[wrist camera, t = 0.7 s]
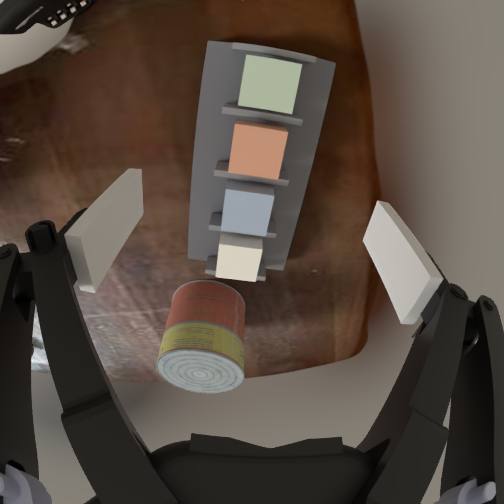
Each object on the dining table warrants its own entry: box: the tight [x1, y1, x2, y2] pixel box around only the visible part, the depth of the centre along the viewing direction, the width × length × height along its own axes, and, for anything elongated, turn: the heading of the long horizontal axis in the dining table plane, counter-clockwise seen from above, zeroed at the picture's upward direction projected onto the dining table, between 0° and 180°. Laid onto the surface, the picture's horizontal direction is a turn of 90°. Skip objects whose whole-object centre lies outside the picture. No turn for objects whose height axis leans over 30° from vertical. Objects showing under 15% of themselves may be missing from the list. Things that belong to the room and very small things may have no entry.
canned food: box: [156, 280, 245, 393], centre depth 38 cm, size 11×11×12 cm
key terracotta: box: [228, 119, 288, 180], centre depth 24 cm, size 4×4×2 cm
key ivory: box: [216, 231, 263, 282], centre depth 31 cm, size 4×4×2 cm
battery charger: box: [0, 0, 93, 34], centre depth 13 cm, size 7×4×11 cm, turn 104°
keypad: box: [188, 41, 336, 281], centre depth 28 cm, size 12×25×5 cm, turn 171°
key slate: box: [221, 179, 274, 236], centre depth 28 cm, size 4×4×2 cm
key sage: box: [238, 55, 302, 114], centre depth 21 cm, size 4×4×2 cm
